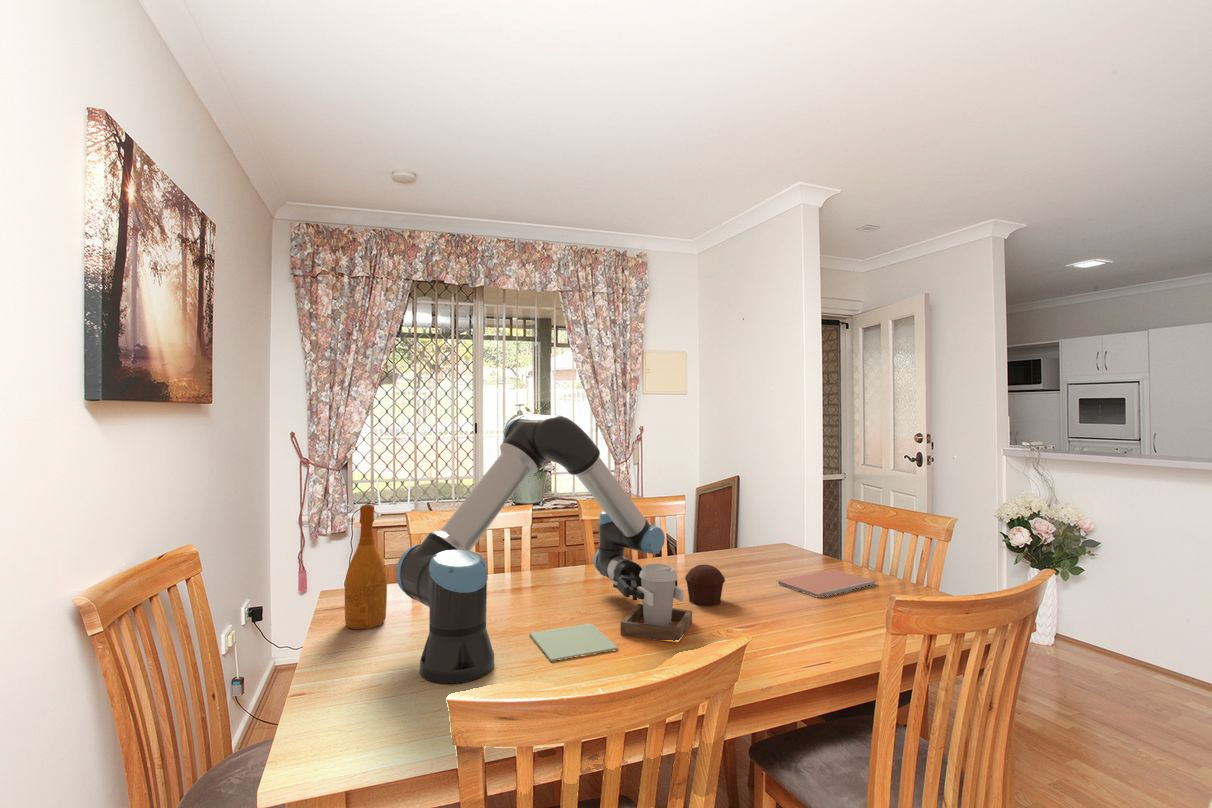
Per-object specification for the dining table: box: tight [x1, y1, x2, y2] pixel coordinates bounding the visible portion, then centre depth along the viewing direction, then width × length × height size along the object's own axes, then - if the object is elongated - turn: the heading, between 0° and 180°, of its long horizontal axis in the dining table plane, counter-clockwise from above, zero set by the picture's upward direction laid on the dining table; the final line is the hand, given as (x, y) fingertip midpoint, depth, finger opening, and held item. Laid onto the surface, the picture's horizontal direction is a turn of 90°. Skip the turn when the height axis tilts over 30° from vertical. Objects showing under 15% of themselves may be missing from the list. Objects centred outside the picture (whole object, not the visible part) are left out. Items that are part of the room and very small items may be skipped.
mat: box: [529, 623, 619, 662], centre depth 135 cm, size 16×16×1 cm
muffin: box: [684, 564, 726, 607], centre depth 165 cm, size 12×11×10 cm
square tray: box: [619, 603, 693, 641], centre depth 145 cm, size 14×14×3 cm
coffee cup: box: [639, 563, 678, 628], centre depth 145 cm, size 10×10×15 cm
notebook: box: [776, 568, 876, 598], centre depth 182 cm, size 27×17×2 cm, turn 121°
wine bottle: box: [344, 504, 388, 630], centre depth 146 cm, size 10×10×30 cm
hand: (667, 597), depth 140 cm, fingers closed on coffee cup, 8 cm apart
